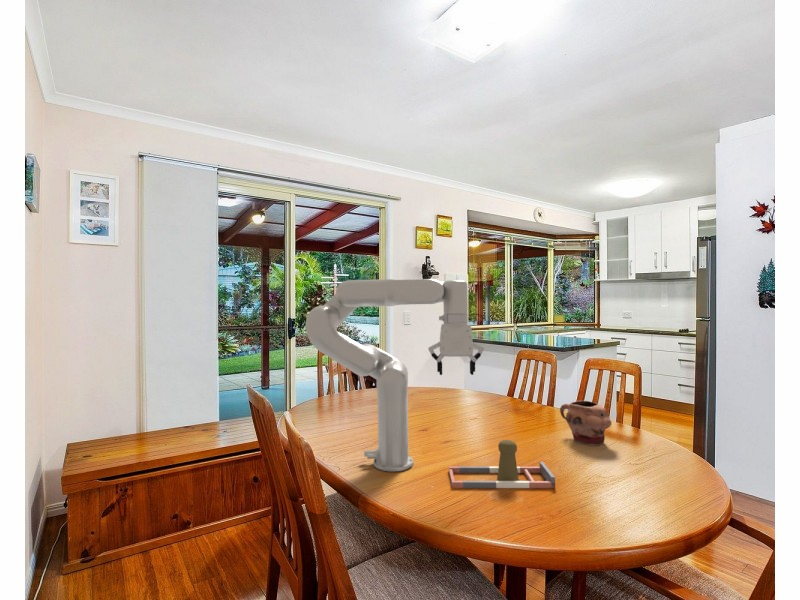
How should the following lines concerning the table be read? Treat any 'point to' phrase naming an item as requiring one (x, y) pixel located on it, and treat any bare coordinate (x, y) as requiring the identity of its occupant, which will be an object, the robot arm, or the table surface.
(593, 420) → the sculpted ceramic mug
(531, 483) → the frame
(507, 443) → the cork
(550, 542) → the table surface
